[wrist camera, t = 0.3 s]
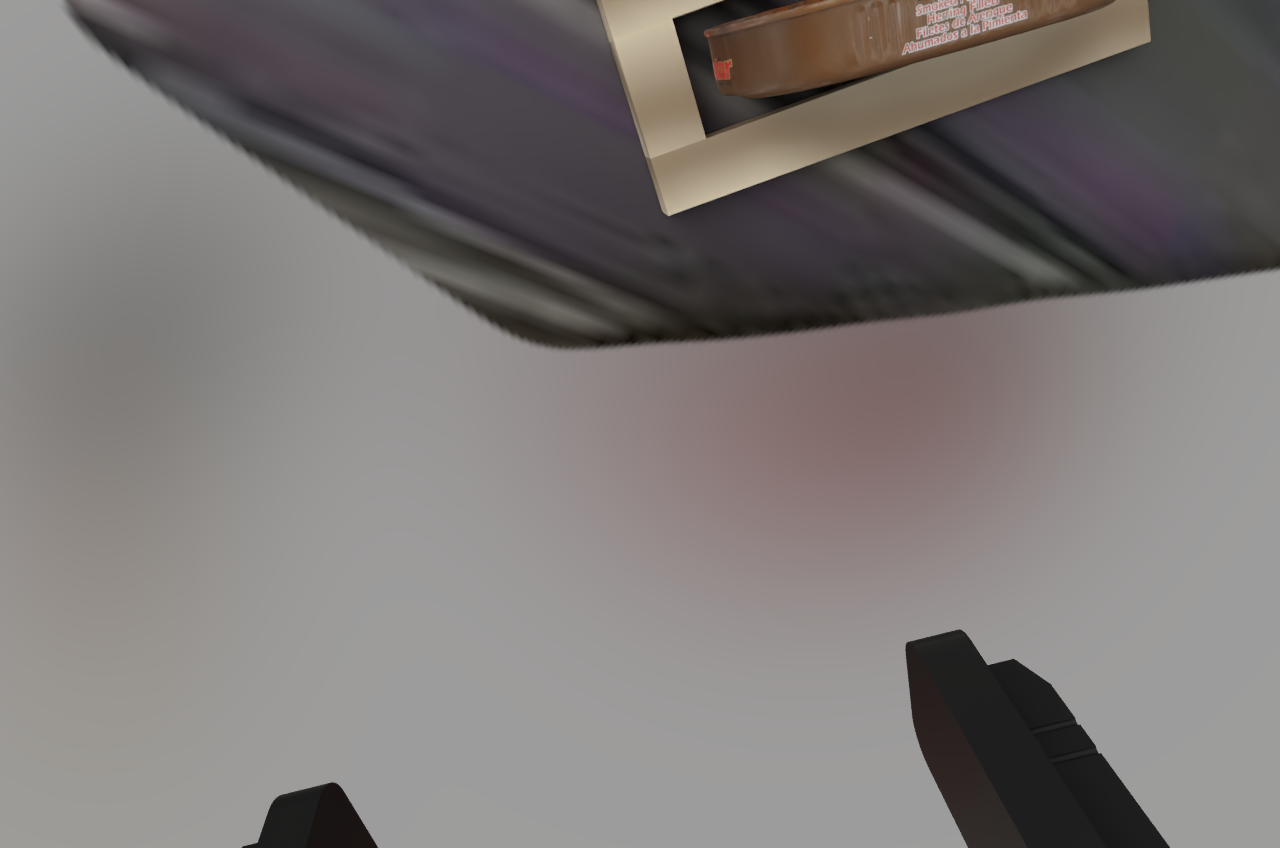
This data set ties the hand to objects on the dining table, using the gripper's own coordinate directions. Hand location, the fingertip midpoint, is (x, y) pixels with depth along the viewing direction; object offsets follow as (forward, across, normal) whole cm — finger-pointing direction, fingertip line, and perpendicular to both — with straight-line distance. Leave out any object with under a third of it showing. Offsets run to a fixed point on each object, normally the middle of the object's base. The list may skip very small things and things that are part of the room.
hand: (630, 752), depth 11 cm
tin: (+29, -14, -5) cm, 32 cm away
